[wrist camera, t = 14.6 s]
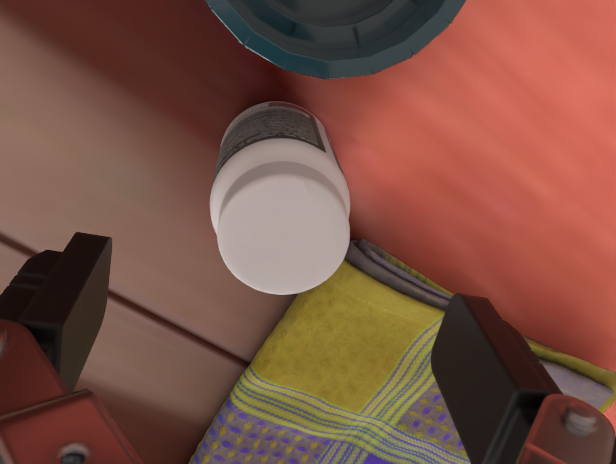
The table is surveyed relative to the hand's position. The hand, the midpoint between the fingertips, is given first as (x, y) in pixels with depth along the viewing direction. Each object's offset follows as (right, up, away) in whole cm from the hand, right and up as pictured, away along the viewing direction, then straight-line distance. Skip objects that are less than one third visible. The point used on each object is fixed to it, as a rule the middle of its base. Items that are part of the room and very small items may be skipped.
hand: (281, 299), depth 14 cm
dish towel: (+3, -11, +19) cm, 22 cm away
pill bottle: (-1, +5, +12) cm, 13 cm away
